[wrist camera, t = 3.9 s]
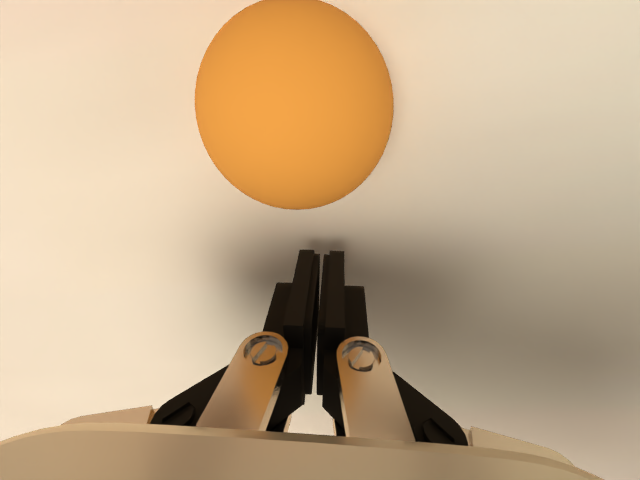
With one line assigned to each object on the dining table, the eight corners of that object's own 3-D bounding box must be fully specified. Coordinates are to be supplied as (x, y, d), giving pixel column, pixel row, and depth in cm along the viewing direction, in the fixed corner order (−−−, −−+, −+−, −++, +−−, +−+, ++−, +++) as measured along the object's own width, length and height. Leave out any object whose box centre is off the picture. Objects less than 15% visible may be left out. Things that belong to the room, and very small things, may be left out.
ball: (418, 224, 7) (384, 173, 12) (410, -73, 5) (372, 6, 10) (198, 252, 7) (249, 192, 12) (110, -11, 5) (210, 36, 10)
